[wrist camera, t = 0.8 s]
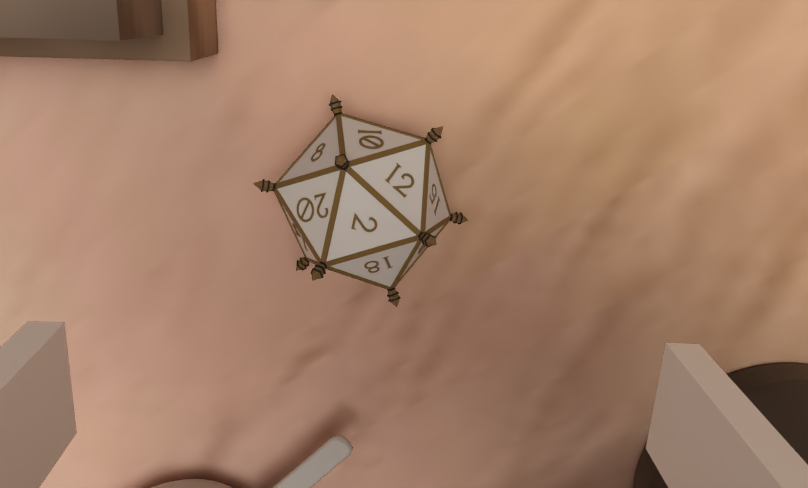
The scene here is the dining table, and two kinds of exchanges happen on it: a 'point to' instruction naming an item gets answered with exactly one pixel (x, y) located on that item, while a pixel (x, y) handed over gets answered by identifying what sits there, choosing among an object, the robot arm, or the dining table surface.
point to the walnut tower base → (174, 48)
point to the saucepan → (297, 480)
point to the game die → (364, 200)
